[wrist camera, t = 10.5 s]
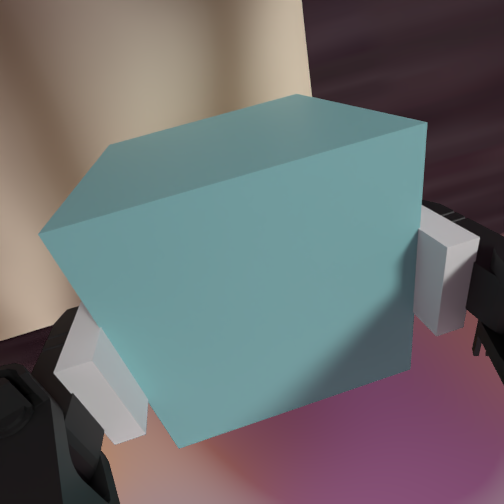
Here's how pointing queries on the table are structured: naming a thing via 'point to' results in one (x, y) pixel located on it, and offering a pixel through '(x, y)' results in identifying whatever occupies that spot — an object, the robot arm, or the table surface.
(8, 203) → the base board
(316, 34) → the table surface
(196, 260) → the teal cube
